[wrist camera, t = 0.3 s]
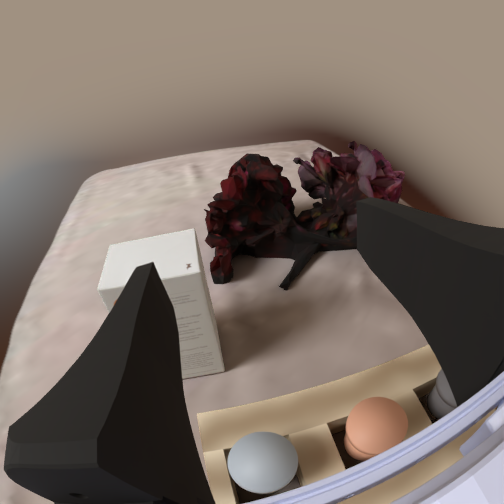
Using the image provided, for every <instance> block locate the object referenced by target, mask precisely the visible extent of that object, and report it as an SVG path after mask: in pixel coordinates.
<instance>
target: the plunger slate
mask: <svg viewBox="0 0 504 504" xmlns="http://www.w3.org/2000/svg"><path fill="white" fill-rule="evenodd" d="M297 467H298V455H297V452H296V450H295V448H294V446H293V445H292V444H291V442H290V441H289V440H287V439H286V438H285V437H283V436H281V435H279V434H276V433H273V432H264V431H263V432H254V433H251V434H248V435H246V436H244V437H242V438H241V439H239V440H238V441H237V442H236V443H235V444H234V445H233V447H232V448H231V450H230V452H229V455H228V470H229V473H230V475H231V476H232V478H233V479H234V481H235V482H236V483H237V484H238V485H239V486H240V487H242V488H243V489H245V490H247V491H250V492H253V493H256V494H263V495H266V494H272V493H275V492H277V491H279V490H280V489H282V488H284V487H285V486H286V485H288V484H289V483H290V482H291V480H292V479H293V477H294V476H295V474H296V471H297Z"/></svg>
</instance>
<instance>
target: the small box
mask: <svg viewBox="0 0 504 504" xmlns="http://www.w3.org/2000/svg"><path fill="white" fill-rule="evenodd" d="M150 262H154V265H155V267H156V269H157V272H158V274H159V276H160V278H161V281H162V283H163V285H164V287H165V289H166V292H167V294H168V296H169V298H170V300H171V302H172V305H173V307H174V311H175V316H176V321H177V326H178V332H179V344H180V357H181V370H182V379H185V378H191V377H197V376H203V375H208V374H214V373H220V372H224V371H225V368H224V362H223V357H222V352H221V346H220V340H219V335H218V329H217V324H216V320H215V316H214V311H213V307H212V302H211V298H210V293H209V289H208V285H207V281H206V276H205V271H204V267H203V262H202V258H201V253H200V249H199V244H198V240H197V235H196V231H195V228H193V229H188V230H183V231H178V232H172V233H168V234H162V235H157V236H152V237H147V238H142V239H137V240H132V241H127V242H122V243H117V244H112V245H110V246H109V250H108V253H107V257H106V260H105V264H104V267H103V271H102V274H101V278H100V281H99V285H98V288H97V290H98V292H99V294H100V296H101V298H102V300H103V302H104V304H105V306H106V308H107V310H108V312H109V313H110V311H111V310H112V308H113V306H114V304H115V303H116V301H117V299H118V297H119V296H120V294H121V292H122V290H123V289H124V287H125V285H126V283H127V282H128V280H129V278H130V276H131V275H132V273H133V271H134V270H135V268H136V267H138V266H141V265H144V264H147V263H150Z"/></svg>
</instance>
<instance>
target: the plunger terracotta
mask: <svg viewBox="0 0 504 504" xmlns="http://www.w3.org/2000/svg"><path fill="white" fill-rule="evenodd" d="M345 428H346V434H345V437H344V447H345V449H346V451H347V453H348V454H349V455H350V456H351V457H352V458H354V459H356V460H359V461H366V460H368V459H370V458H372V457H374V456H376V455H378V454H380V453H382V452H384V451H386V450H388V449H390V448H392V447H394V446H396V445H398V444H399V443H401V442H402V440H403V439H404V437H405V436H406V433H407V430H408V419H407V415H406V413H405V411H404V410H403V408H402V407H401V406H400V405H399V404H398V403H396V402H395V401H393V400H391V399H389V398H385V397H371V398H367V399H365V400H362V401H361V402H359V403H358V404H357V405H356V406H355V407H354V408H353V409H352V410H351V412H350V414H349V416H348V418H347V421H346V427H345Z"/></svg>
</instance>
